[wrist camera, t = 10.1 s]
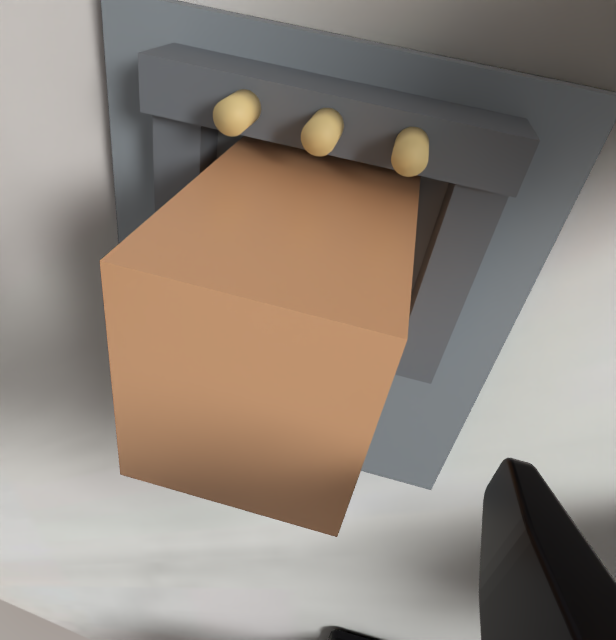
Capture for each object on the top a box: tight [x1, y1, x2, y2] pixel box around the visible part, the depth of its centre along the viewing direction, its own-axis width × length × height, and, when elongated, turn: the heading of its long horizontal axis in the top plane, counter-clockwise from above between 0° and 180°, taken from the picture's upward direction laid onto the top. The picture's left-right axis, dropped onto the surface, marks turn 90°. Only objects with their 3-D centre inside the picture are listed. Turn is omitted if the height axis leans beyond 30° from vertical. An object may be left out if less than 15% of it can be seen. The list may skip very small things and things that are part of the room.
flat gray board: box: [101, 0, 616, 490], centre depth 14 cm, size 14×12×3 cm
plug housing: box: [100, 136, 421, 537], centre depth 11 cm, size 5×5×7 cm
